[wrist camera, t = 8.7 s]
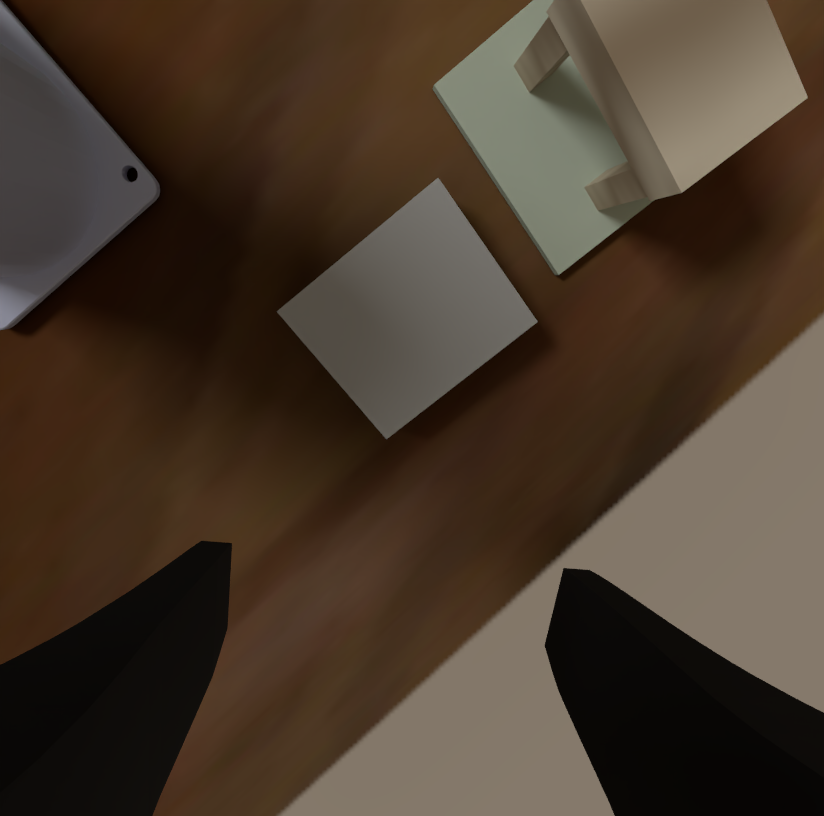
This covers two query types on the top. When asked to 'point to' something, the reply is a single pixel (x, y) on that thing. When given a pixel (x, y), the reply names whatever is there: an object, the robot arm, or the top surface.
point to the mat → (537, 141)
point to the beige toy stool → (669, 83)
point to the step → (409, 311)
